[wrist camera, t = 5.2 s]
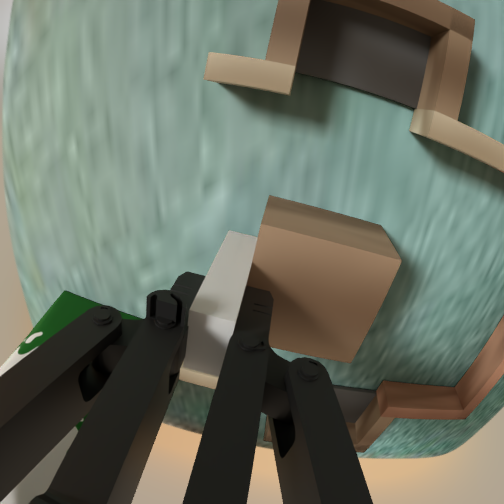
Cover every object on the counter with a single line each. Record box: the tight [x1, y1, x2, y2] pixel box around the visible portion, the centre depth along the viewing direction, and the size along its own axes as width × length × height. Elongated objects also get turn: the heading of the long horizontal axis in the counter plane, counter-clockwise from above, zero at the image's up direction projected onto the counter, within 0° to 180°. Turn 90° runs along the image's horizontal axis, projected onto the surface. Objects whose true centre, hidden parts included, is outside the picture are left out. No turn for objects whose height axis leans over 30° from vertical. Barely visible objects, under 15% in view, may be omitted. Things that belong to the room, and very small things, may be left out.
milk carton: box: [0, 291, 141, 504], centre depth 14 cm, size 9×9×20 cm
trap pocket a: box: [265, 0, 475, 120], centre depth 11 cm, size 5×8×2 cm, turn 79°
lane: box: [179, 52, 504, 419], centre depth 16 cm, size 18×23×2 cm
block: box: [246, 195, 402, 363], centre depth 16 cm, size 6×6×4 cm
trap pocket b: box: [263, 385, 394, 452], centre depth 21 cm, size 5×8×2 cm, turn 79°
